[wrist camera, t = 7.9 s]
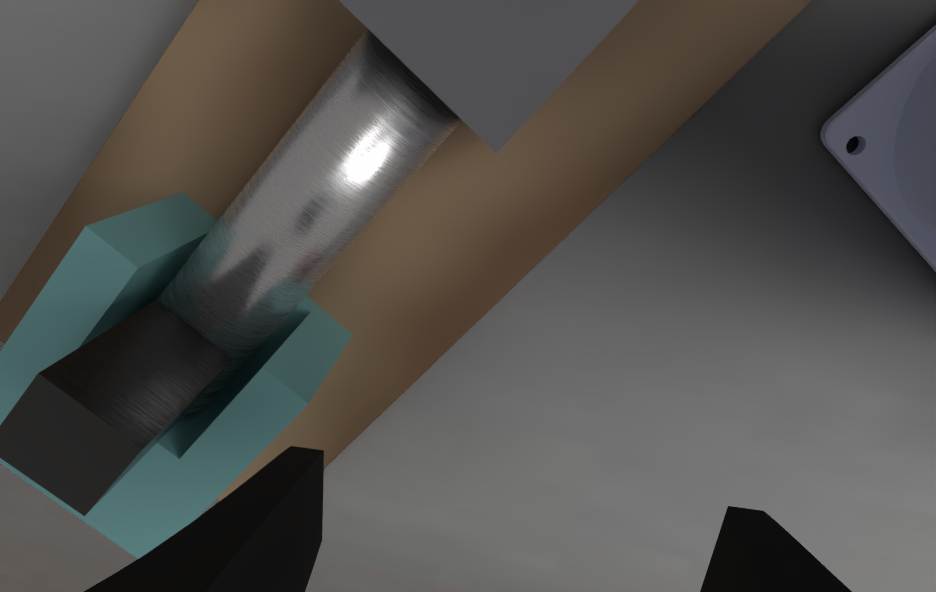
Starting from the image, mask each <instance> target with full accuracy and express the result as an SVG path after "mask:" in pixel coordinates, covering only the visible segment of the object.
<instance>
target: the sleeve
mask: <svg viewBox="0 0 936 592" xmlns="http://www.w3.org/2000/svg"><path fill="white" fill-rule="evenodd" d="M339 1H340V2H341V3H342V4H343V5H344V6H345V7H346V8H347V9H348V10H349V11H350V12H351V13H352V14H353V15H354V16H355V17H356V18H357V19H359V20H360V21H361V22H362V23H363V24H364V25H365V26H366V27H367V28H368V29H369V30H370V31H371V32H372V33H373V34H374V35H375V36H376V37H377V38H378V39H379V40H380V41H381V42H382V43H383V44H384V45H385V46H386V47H387V48H388V49H389V50H390V51H391V52H392V53H394V54H395V55H396V56H397V57H398V58H399V59H400V60H401V61H402V62H403V63H404V64H405V65H406V66H407V67H408V68H409V69H410V70H411V71H412V72H413V73H414V74H415V75H416V76H417V77H418V78H419V79H420V80H421V81H422V82H423V83H424V84H425V85H426V86H427V87H429V88H430V89H431V90H432V91H433V92H434V93H435V94H436V95H437V96H438V97H439V98H440V99H441V100H442V101H443V102H444V103H445V104H446V105H447V106H448V107H449V108H450V109H451V110H452V111H453V112H454V113H455V114H456V115H457V116H458V117H459V118H460V119H461V120H462V121H463V122H465V123H466V124H467V125H468V126H469V127H470V128H471V129H472V130H473V131H474V132H475V133H476V134H477V135H478V136H479V137H480V138H481V139H482V140H483V141H484V142H485V143H486V144H487V145H488V146H489V147H490V148H491V149H492V150H493V151H494V152H495V153H497V152H498V151H499V150H500V149H501V148H502V147H503V146H504V145H505V144H506V143H507V142H508V141H509V139H510V138H511V137H512V136H513V135H514V134H515V133H516V132H517V131H518V130H519V129H520V128H521V127H522V126H523V124H524V123H525V122H526V121H527V120H528V119H529V118H530V117H531V116H532V115H533V114H534V113H535V112H536V111H537V109H538V108H539V107H540V106H541V105H542V104H543V103H544V102H545V101H546V100H547V99H548V98H549V97H550V96H551V94H552V93H553V92H554V91H555V90H556V89H557V88H558V87H559V86H560V85H561V84H562V83H563V82H564V81H565V79H566V78H567V77H568V76H569V75H570V74H571V73H572V72H573V71H574V70H575V69H576V68H577V67H578V66H579V64H580V63H581V62H582V61H583V60H584V59H585V58H586V57H587V56H588V55H589V54H590V53H591V52H592V51H593V49H594V48H595V47H596V46H597V45H598V44H599V43H600V42H601V41H602V40H603V39H604V38H605V37H606V36H607V34H608V33H609V32H610V31H611V30H612V29H613V28H614V27H615V26H616V25H617V24H618V23H619V22H620V21H621V19H622V18H623V17H624V16H625V15H626V14H627V13H628V12H629V11H630V10H631V9H632V8H633V7H634V6H635V4H636V3H637V2H638V1H639V0H339Z"/></svg>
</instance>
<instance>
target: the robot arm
mask: <svg viewBox="0 0 936 592" xmlns="http://www.w3.org/2000/svg"><path fill="white" fill-rule="evenodd" d="M820 135H821V141H822V143H823V145H824V146H825V147H826V148H827V149H828V150H829V152H830V153H831V154H832V155H833V156H834V157H835V158H836V160H837V161H838V162H839V163H840V164H841V165H842V166H843V167H844V169H845V170H846V171H847V172H848V173H849V174H850V175H851V177H852V178H853V179H854V180H855V181H856V182H857V183H858V185H859V186H860V187H861V188H862V189H863V190H864V191H865V192H866V194H867V195H868V196H869V197H870V198H871V199H872V200H873V202H874V203H875V204H876V205H877V206H878V207H879V208H880V209H881V211H882V212H883V213H884V214H885V215H886V216H887V217H888V219H889V220H890V221H891V222H892V223H893V224H894V225H895V227H896V228H897V229H898V230H899V231H900V232H901V233H902V234H903V236H904V237H905V238H906V239H907V240H908V241H909V242H910V244H911V245H912V246H913V247H914V248H915V249H916V250H917V251H918V253H919V254H920V255H921V256H922V257H923V258H924V259H925V261H926V262H927V263H928V264H929V265H930V266H931V267H932V269H933V270H934V271H935V272H936V25H935V26H933V27H932V28H931V29H930V30H929V31H928V32H927V33H925V34H924V35H923V36H922V37H921V38H920V39H919V40H918V41H916V42H915V43H914V44H913V45H912V46H911V47H910V48H908V49H907V50H906V51H905V52H904V53H903V54H902V55H900V56H899V57H898V58H897V59H896V60H895V61H894V62H893V63H891V64H890V65H889V66H888V67H887V68H886V69H885V70H883V71H882V72H881V73H880V74H879V75H878V76H877V77H875V78H874V79H873V80H872V81H871V82H870V83H869V84H868V85H866V86H865V87H864V88H863V89H862V90H861V91H860V92H858V93H857V94H856V95H855V96H854V97H853V98H852V99H850V100H849V101H848V102H847V103H846V104H845V105H844V106H842V107H841V108H840V109H839V110H838V111H837V112H836V113H835V114H833V115H832V116H831V117H830V118H829V119H828V120H827V121H826V122H825V123H824V125H823V127H822V129H821V132H820ZM854 136H856V137H857V138H858V141H859V142H858V147H857V148H856V149H855V150H854V151H853V152H851V153H848V152H847V150H846V145H847V142H848V141H849V140H850V139H851V138H853V137H854ZM323 472H324V450H318V449H310V448H303V447H296V446H290V447H289V448H287V449H286V450H284V451H283V452H282V453H281V454H279V455H278V456H277V457H275V458H274V459H273V460H272V461H270V462H269V463H268V464H267V465H265V466H264V467H263V468H262V469H260V470H259V471H258V472H257V473H255V474H254V475H253V476H252V477H250V478H249V479H248V480H247V481H245V482H244V483H243V484H242V485H240V486H239V487H238V488H236V489H235V490H234V491H233V492H231V493H230V494H229V495H227V496H226V497H225V498H223V499H222V500H221V501H219V502H218V503H217V504H215V505H214V506H213V507H212V508H210V509H209V510H208V511H206V512H205V513H204V514H202V515H201V516H200V517H198V518H197V519H196V520H194V521H193V522H191V523H190V524H189V525H187V526H186V527H184V528H183V529H181V530H180V531H178V532H177V533H176V534H174V535H173V536H171V537H170V538H168V539H167V540H165V541H164V542H163V543H161V544H160V545H158V546H157V547H155V548H154V549H152V550H151V551H150V552H148V553H147V554H145V555H144V556H142V557H141V558H139V559H137V560H136V561H134V562H133V563H131V564H130V565H128V566H126V567H125V568H123V569H121V570H120V571H118V572H117V573H115V574H113V575H112V576H110V577H108V578H106V579H105V580H103V581H101V582H100V583H98V584H96V585H94V586H93V587H91V588H89V589H88V590H86V591H84V592H305V590H306V587H307V584H308V581H309V578H310V575H311V572H312V569H313V566H314V563H315V560H316V557H317V554H318V551H319V548H320V545H321V542H322V516H323ZM700 592H852V591H850V590H849V589H848V588H847V587H846V586H845V585H844V584H843V583H842V582H841V581H840V580H839V579H837V578H836V577H835V576H834V575H833V574H832V573H831V572H830V571H829V570H828V569H827V568H826V567H825V566H824V565H822V564H821V563H820V562H819V561H818V560H817V559H816V558H815V557H814V556H813V555H812V554H811V553H810V552H809V551H808V550H806V549H805V548H804V547H803V546H802V545H801V544H800V543H799V542H798V541H797V540H796V539H795V538H794V537H792V536H791V535H790V534H789V533H788V532H787V531H786V530H785V529H784V528H783V527H782V526H780V525H779V524H778V523H777V522H776V521H775V520H774V519H772V518H771V517H770V516H769V515H768V514H767V513H765V512H764V511H760V510H753V509H746V508H738V507H731V506H728V508H727V511H726V514H725V517H724V520H723V524H722V527H721V530H720V533H719V536H718V539H717V542H716V545H715V548H714V551H713V554H712V557H711V560H710V563H709V567H708V570H707V573H706V576H705V579H704V582H703V585H702V588H701V591H700Z"/></svg>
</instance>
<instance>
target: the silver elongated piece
mask: <svg viewBox="0 0 936 592" xmlns="http://www.w3.org/2000/svg"><path fill="white" fill-rule="evenodd" d="M461 121H462V120H461V119H460V118H459V117H458V116H457V115H456V114H455V113H454V112H453V111H452V110H451V109H450V108H449V107H448V106H447V105H446V104H445V103H444V102H443V101H442V100H441V99H440V98H439V97H438V96H437V95H436V94H435V93H434V92H433V91H432V90H431V89H430V88H429V87H427V86H426V85H425V84H424V83H423V82H422V81H421V80H420V79H419V78H418V77H417V76H416V75H415V74H414V73H413V72H412V71H411V70H410V69H409V68H408V67H407V66H406V65H405V64H404V63H403V62H402V61H401V60H400V59H399V58H398V57H397V56H396V55H395V54H394V53H392V52H391V51H390V50H389V49H388V48H387V47H386V46H385V45H384V44H383V43H382V42H381V41H380V40H379V39H378V38H377V37H376V36H375V35H374V34H373V33H372V32H371V31H370V30H369V29H368V28H367V29H366V31H365V32H364V33H363V34H362V36H361V37H360V38H359V40H358V41H357V42H356V43H355V45H354V46H353V47H352V49H351V50H350V51H349V52H348V54H347V55H346V56H345V58H344V59H343V60H342V62H341V63H340V64H339V65H338V67H337V68H336V69H335V71H334V72H333V73H332V74H331V76H330V77H329V78H328V80H327V81H326V82H325V83H324V85H323V86H322V87H321V89H320V90H319V91H318V92H317V94H316V95H315V96H314V98H313V99H312V100H311V101H310V103H309V104H308V105H307V107H306V108H305V109H304V110H303V112H302V113H301V114H300V116H299V117H298V118H297V120H296V121H295V122H294V123H293V125H292V126H291V127H290V129H289V130H288V131H287V132H286V134H285V135H284V136H283V138H282V139H281V140H280V141H279V143H278V144H277V145H276V147H275V148H274V149H273V150H272V152H271V153H270V154H269V156H268V157H267V158H266V159H265V161H264V162H263V163H262V165H261V166H260V167H259V168H258V170H257V171H256V172H255V174H254V175H253V176H252V178H251V179H250V180H249V181H248V183H247V184H246V185H245V187H244V188H243V189H242V190H241V192H240V193H239V194H238V196H237V197H236V198H235V199H234V201H233V202H232V203H231V205H230V206H229V207H228V208H227V210H226V211H225V212H224V214H223V215H222V216H221V217H220V219H219V220H218V221H217V223H216V224H215V225H214V226H213V228H212V229H211V230H210V232H209V233H208V234H207V236H206V237H205V238H204V239H203V241H202V242H201V243H200V245H199V246H198V247H197V248H196V250H195V251H194V252H193V254H192V255H191V256H190V257H189V259H188V260H187V261H186V263H185V264H184V265H183V266H182V268H181V269H180V270H179V272H178V273H177V274H176V275H175V277H174V278H173V279H172V281H171V282H170V283H169V285H168V286H167V287H166V288H165V290H164V291H163V292H162V294H161V295H160V296H159V297H158V299H157V300H155V301H154V302H152V303H150V304H149V305H147V306H146V307H144V308H142V309H141V310H139V311H138V312H136V313H134V314H133V315H131V316H130V317H128V318H126V319H125V320H123V321H121V322H120V323H118V324H117V325H115V326H113V327H112V328H110V329H109V330H107V331H105V332H104V333H102V334H100V335H99V336H97V337H96V338H94V339H92V340H91V341H89V342H88V343H86V344H84V345H83V346H81V347H79V348H78V349H76V350H75V351H73V352H71V353H70V354H68V355H67V356H65V357H63V358H62V359H60V360H59V361H57V362H55V363H54V364H52V365H50V366H49V367H47V368H46V369H44V370H42V371H41V372H39V373H38V374H37V375H36V377H35V378H34V380H33V381H32V382H31V384H30V385H29V386H28V388H27V389H26V391H25V392H24V393H23V395H22V396H21V397H20V399H19V400H18V402H17V403H16V404H15V406H14V407H13V408H12V410H11V411H10V413H9V414H8V415H7V417H6V418H5V420H4V421H3V422H2V424H1V425H0V458H1V459H2V460H4V461H5V462H7V463H8V464H9V465H11V466H12V467H14V468H15V469H17V470H18V471H20V472H21V473H22V474H24V475H25V476H27V477H28V478H30V479H31V480H33V481H34V482H35V483H37V484H38V485H40V486H41V487H43V488H44V489H46V490H47V491H48V492H50V493H51V494H53V495H54V496H56V497H57V498H59V499H60V500H61V501H63V502H64V503H66V504H67V505H69V506H70V507H72V508H73V509H74V510H76V511H77V512H79V513H80V514H82V515H83V516H85V515H86V514H87V513H88V512H89V511H90V510H91V509H92V508H93V507H94V506H95V505H96V504H97V503H98V502H99V501H100V500H101V499H102V498H103V497H104V496H105V495H106V494H107V493H108V492H109V491H110V490H111V489H112V488H113V487H114V486H115V485H116V484H117V483H118V482H119V481H120V480H121V479H122V478H123V477H124V476H125V475H126V474H127V473H128V472H129V471H130V470H131V469H132V468H133V467H134V466H135V465H136V464H137V463H138V462H139V461H140V459H141V458H142V457H143V456H144V455H145V454H146V453H147V452H148V451H149V450H150V449H151V448H152V447H153V446H154V445H155V444H156V443H157V442H158V441H159V440H160V439H161V438H162V437H163V436H164V435H165V434H166V433H167V432H168V431H169V430H170V429H171V428H172V427H173V426H174V425H175V424H176V423H177V422H178V421H182V420H188V419H192V418H194V417H197V416H198V415H200V414H201V413H202V412H203V411H204V410H205V409H206V408H207V407H208V406H209V405H210V404H211V403H212V401H213V400H214V399H215V398H216V397H217V396H218V395H219V394H220V392H221V391H222V390H223V389H224V388H225V387H226V386H227V385H228V383H229V382H230V381H231V380H232V379H233V378H234V377H235V376H236V374H237V373H238V372H239V371H240V370H241V369H242V368H243V367H244V366H245V364H246V363H247V362H248V361H249V360H250V359H251V358H252V357H253V355H254V354H255V353H256V352H257V351H258V350H259V349H260V348H261V346H262V345H263V344H264V343H265V342H266V341H267V340H268V339H269V337H270V336H271V335H272V334H273V333H274V332H275V331H276V330H277V328H278V327H279V326H280V325H281V324H282V323H283V322H284V321H285V319H286V318H287V317H288V316H289V315H290V314H291V313H292V312H293V310H294V309H295V308H296V307H297V306H298V305H299V304H300V303H301V301H302V300H303V299H304V298H305V297H306V296H307V295H308V294H309V292H310V291H311V290H312V289H313V288H314V287H315V286H316V285H317V283H318V282H319V281H320V280H321V279H322V278H323V277H324V276H325V274H326V273H327V272H328V271H329V270H330V269H331V268H332V267H333V265H334V264H335V263H336V262H337V261H338V260H339V259H340V258H341V256H342V255H343V254H344V253H345V252H346V251H347V250H348V249H349V247H350V246H351V245H352V244H353V243H354V242H355V241H356V240H357V238H358V237H359V236H360V235H361V234H362V233H363V232H364V231H365V229H366V228H367V227H368V226H369V225H370V224H371V223H372V222H373V220H374V219H375V218H376V217H377V216H378V215H379V214H380V213H381V211H382V210H383V209H384V208H385V207H386V206H387V205H388V204H389V202H390V201H391V200H392V199H393V198H394V197H395V196H396V195H397V193H398V192H399V191H400V190H401V189H402V188H403V187H404V186H405V184H406V183H407V182H408V181H409V180H410V179H411V178H412V177H413V175H414V174H415V173H416V172H417V171H418V170H419V169H420V168H421V166H422V165H423V164H424V163H425V162H426V161H427V160H428V159H429V157H430V156H431V155H432V154H433V153H434V152H435V151H436V150H437V148H438V147H439V146H440V145H441V144H442V143H443V142H444V141H445V139H446V138H447V137H448V136H449V135H450V134H451V133H452V132H453V130H454V129H455V128H456V127H457V126H458V125H459V124H460V123H461Z"/></svg>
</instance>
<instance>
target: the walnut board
mask: <svg viewBox="0 0 936 592" xmlns="http://www.w3.org/2000/svg"><path fill="white" fill-rule="evenodd" d="M811 1H812V0H639V1H638V2H637V3H636V4H635V6H634V7H633V8H632V9H631V10H630V11H629V12H628V13H627V14H626V15H625V16H624V17H623V18H622V19H621V21H620V22H619V23H618V24H617V25H616V26H615V27H614V28H613V29H612V30H611V31H610V32H609V33H608V34H607V36H606V37H605V38H604V39H603V40H602V41H601V42H600V43H599V44H598V45H597V46H596V47H595V48H594V49H593V51H592V52H591V53H590V54H589V55H588V56H587V57H586V58H585V59H584V60H583V61H582V62H581V63H580V64H579V66H578V67H577V68H576V69H575V70H574V71H573V72H572V73H571V74H570V75H569V76H568V77H567V78H566V79H565V81H564V82H563V83H562V84H561V85H560V86H559V87H558V88H557V89H556V90H555V91H554V92H553V93H552V94H551V96H550V97H549V98H548V99H547V100H546V101H545V102H544V103H543V104H542V105H541V106H540V107H539V108H538V109H537V111H536V112H535V113H534V114H533V115H532V116H531V117H530V118H529V119H528V120H527V121H526V122H525V123H524V124H523V126H522V127H521V128H520V129H519V130H518V131H517V132H516V133H515V134H514V135H513V136H512V137H511V138H510V139H509V141H508V142H507V143H506V144H505V145H504V146H503V147H502V148H501V149H500V150H499V151H498V152H497V153H495V152H494V151H493V150H492V149H491V148H490V147H489V146H488V145H487V144H486V143H485V142H484V141H483V140H482V139H481V138H480V137H479V136H478V135H477V134H476V133H475V132H474V131H473V130H472V129H471V128H470V127H469V126H468V125H467V124H466V123H465V122H463V121H461V123H460V124H459V125H458V126H457V127H456V128H455V129H454V130H453V132H452V133H451V134H450V135H449V136H448V137H447V138H446V139H445V141H444V142H443V143H442V144H441V145H440V146H439V147H438V148H437V150H436V151H435V152H434V153H433V154H432V155H431V156H430V157H429V159H428V160H427V161H426V162H425V163H424V164H423V165H422V166H421V168H420V169H419V170H418V171H417V172H416V173H415V174H414V175H413V177H412V178H411V179H410V180H409V181H408V182H407V183H406V184H405V186H404V187H403V188H402V189H401V190H400V191H399V192H398V193H397V195H396V196H395V197H394V198H393V199H392V200H391V201H390V202H389V204H388V205H387V206H386V207H385V208H384V209H383V210H382V211H381V213H380V214H379V215H378V216H377V217H376V218H375V219H374V220H373V222H372V223H371V224H370V225H369V226H368V227H367V228H366V229H365V231H364V232H363V233H362V234H361V235H360V236H359V237H358V238H357V240H356V241H355V242H354V243H353V244H352V245H351V246H350V247H349V249H348V250H347V251H346V252H345V253H344V254H343V255H342V256H341V258H340V259H339V260H338V261H337V262H336V263H335V264H334V265H333V267H332V268H331V269H330V270H329V271H328V272H327V273H326V274H325V276H324V277H323V278H322V279H321V280H320V281H319V282H318V283H317V285H316V286H315V287H314V288H313V289H312V290H311V291H310V292H309V294H308V295H307V297H308V298H310V299H311V300H312V301H313V302H314V303H316V304H317V305H318V306H319V307H320V308H322V309H323V310H324V311H325V312H326V313H328V314H329V315H330V316H331V317H332V318H333V319H335V320H336V321H337V322H338V323H339V324H341V325H342V326H343V327H344V328H345V329H347V330H348V331H349V332H350V333H351V334H352V337H351V338H350V340H349V341H348V343H347V344H346V346H345V348H344V349H343V351H342V352H341V354H340V355H339V357H338V359H337V360H336V362H335V363H334V365H333V366H332V368H331V370H330V371H329V373H328V374H327V376H326V377H325V379H324V381H323V382H322V384H321V385H320V387H319V388H318V390H317V391H316V393H315V395H314V396H313V398H312V399H311V401H310V402H309V404H308V405H307V406H306V407H305V408H304V409H303V410H302V411H301V412H300V413H299V414H298V415H297V416H296V417H295V418H294V419H293V421H292V422H291V423H290V424H289V425H288V426H287V427H286V428H285V429H284V430H283V431H282V432H281V433H280V434H279V435H278V436H277V437H276V438H275V439H274V440H273V441H272V442H271V443H270V444H269V445H268V446H267V447H266V448H265V449H264V450H263V451H262V452H261V453H260V454H259V456H258V457H257V458H256V459H255V460H254V461H253V462H252V463H251V464H250V465H249V466H248V467H247V468H246V469H245V470H244V471H243V472H242V473H241V474H240V475H239V476H238V477H237V478H236V479H235V480H234V481H233V482H232V483H231V484H230V485H229V486H228V487H227V488H226V489H225V490H224V492H223V493H222V494H221V495H220V496H219V497H218V498H217V500H218V501H221V500H222V499H223V498H225V497H226V496H227V495H229V494H230V493H231V492H233V491H234V490H235V489H236V488H238V487H239V486H240V485H242V484H243V483H244V482H245V481H247V480H248V479H249V478H250V477H252V476H253V475H254V474H255V473H257V472H258V471H259V470H260V469H262V468H263V467H264V466H265V465H267V464H268V463H269V462H270V461H272V460H273V459H274V458H275V457H277V456H278V455H279V454H281V453H282V452H283V451H284V450H286V449H287V448H289V447H290V446H296V447H303V448H310V449H318V450H324V468H325V467H326V466H327V465H328V464H330V463H331V462H332V461H333V460H334V459H335V458H336V457H337V456H338V455H339V454H340V453H341V452H342V451H343V450H344V449H345V448H346V447H347V446H348V445H349V444H350V443H351V442H352V441H353V440H355V439H356V438H357V437H358V436H359V435H360V434H361V433H362V432H363V431H364V430H365V429H366V428H367V427H368V426H369V425H370V424H371V423H372V422H373V421H374V420H375V419H376V418H377V417H378V416H380V415H381V414H382V413H383V412H384V411H385V410H386V409H387V408H388V407H389V406H390V405H391V404H392V403H393V402H394V401H395V400H396V399H397V398H398V397H399V396H400V395H401V394H402V393H404V392H405V391H406V390H407V389H408V388H409V387H410V386H411V385H412V384H413V383H414V382H415V381H416V380H417V379H418V378H419V377H420V376H421V375H422V374H423V373H424V372H425V371H426V370H427V369H429V368H430V367H431V366H432V365H433V364H434V363H435V362H436V361H437V360H438V359H439V358H440V357H441V356H442V355H443V354H444V353H445V352H446V351H447V350H448V349H449V348H450V347H451V346H452V345H454V344H455V343H456V342H457V341H458V340H459V339H460V338H461V337H462V336H463V335H464V334H465V333H466V332H467V331H468V330H469V329H470V328H471V327H472V326H473V325H474V324H475V323H476V322H477V321H479V320H480V319H481V318H482V317H483V316H484V315H485V314H486V313H487V312H488V311H489V310H490V309H491V308H492V307H493V306H494V305H495V304H496V303H497V302H498V301H499V300H500V299H501V298H502V297H504V296H505V295H506V294H507V293H508V292H509V291H510V290H511V289H512V288H513V287H514V286H515V285H516V284H517V283H518V282H519V281H520V280H521V279H522V278H523V277H524V276H525V275H526V274H527V273H529V272H530V271H531V270H532V269H533V268H534V267H535V266H536V265H537V264H538V263H539V262H540V261H541V260H542V259H543V258H544V257H545V256H546V255H547V254H548V253H549V252H550V251H551V250H552V249H554V248H555V247H556V246H557V245H558V244H559V243H560V242H561V241H562V240H563V239H564V238H565V237H566V236H567V235H568V234H569V233H570V232H571V231H572V230H573V229H574V228H575V227H576V226H578V225H579V224H580V223H581V222H582V221H583V220H584V219H585V218H586V217H587V216H588V215H589V214H590V213H591V212H592V211H593V210H594V209H595V208H596V207H597V206H598V205H599V204H600V203H601V202H603V201H604V200H605V199H606V198H607V197H608V196H609V195H610V194H611V193H612V192H613V191H614V190H615V189H616V188H617V187H618V186H619V185H620V184H621V183H622V182H623V181H624V180H625V179H626V178H628V177H629V176H630V175H631V174H632V173H633V172H634V171H635V170H636V169H637V168H638V167H639V166H640V165H641V164H642V163H643V162H644V161H645V160H646V159H647V158H648V157H649V156H650V155H651V154H653V153H654V152H655V151H656V150H657V149H658V148H659V147H660V146H661V145H662V144H663V143H664V142H665V141H666V140H667V139H668V138H669V137H670V136H671V135H672V134H673V133H674V132H675V131H676V130H678V129H679V128H680V127H681V126H682V125H683V124H684V123H685V122H686V121H687V120H688V119H689V118H690V117H691V116H692V115H693V114H694V113H695V112H696V111H697V110H698V109H699V108H700V107H701V106H703V105H704V104H705V103H706V102H707V101H708V100H709V99H710V98H711V97H712V96H713V95H714V94H715V93H716V92H717V91H718V90H719V89H720V88H721V87H722V86H723V85H724V84H725V83H727V82H728V81H729V80H730V79H731V78H732V77H733V76H734V75H735V74H736V73H737V72H738V71H739V70H740V69H741V68H742V67H743V66H744V65H745V64H746V63H747V62H748V61H749V60H750V59H752V58H753V57H754V56H755V55H756V54H757V53H758V52H759V51H760V50H761V49H762V48H763V47H764V46H765V45H766V44H767V43H768V42H769V41H770V40H771V39H772V38H773V37H774V36H775V35H777V34H778V33H779V32H780V31H781V30H782V29H783V28H784V27H785V26H786V25H787V24H788V23H789V22H790V21H791V20H792V19H793V18H794V17H795V16H796V15H797V14H798V13H799V12H800V11H802V10H803V9H804V8H805V7H806V6H807V5H808V4H809V3H810V2H811ZM366 29H367V27H366V26H365V25H364V24H363V23H362V22H361V21H360V20H359V19H357V18H356V17H355V16H354V15H353V14H352V13H351V12H350V11H349V10H348V9H347V8H346V7H345V6H344V5H343V4H342V3H341V2H340V1H339V0H199V1H198V2H197V4H196V5H195V7H194V8H193V10H192V11H191V13H190V14H189V16H188V17H187V19H186V20H185V22H184V23H183V25H182V26H181V28H180V30H179V31H178V33H177V34H176V36H175V37H174V39H173V40H172V42H171V43H170V45H169V46H168V48H167V49H166V51H165V52H164V54H163V55H162V57H161V58H160V60H159V62H158V63H157V65H156V66H155V68H154V69H153V71H152V72H151V74H150V75H149V77H148V78H147V80H146V81H145V83H144V84H143V86H142V87H141V89H140V90H139V92H138V94H137V95H136V97H135V98H134V100H133V101H132V103H131V104H130V106H129V107H128V109H127V110H126V112H125V113H124V115H123V116H122V118H121V119H120V121H119V122H118V124H117V126H116V127H115V129H114V130H113V132H112V133H111V135H110V136H109V138H108V139H107V141H106V142H105V144H104V145H103V147H102V148H101V150H100V151H99V153H98V155H97V156H96V158H95V159H94V161H93V162H92V164H91V165H90V167H89V168H88V170H87V171H86V173H85V174H84V176H83V177H82V179H81V180H80V182H79V183H78V185H77V187H76V188H75V190H74V191H73V193H72V194H71V196H70V197H69V199H68V200H67V202H66V203H65V205H64V206H63V208H62V209H61V211H60V212H59V214H58V215H57V217H56V219H55V220H54V222H53V223H52V225H51V226H50V228H49V229H48V231H47V232H46V234H45V235H44V237H43V238H42V240H41V241H40V243H39V244H38V246H37V247H36V249H35V251H34V252H33V254H32V255H31V257H30V258H29V260H28V261H27V263H26V264H25V266H24V267H23V269H22V270H21V272H20V273H19V275H18V276H17V278H16V279H15V281H14V283H13V284H12V286H11V287H10V289H9V290H8V292H7V293H6V295H5V296H4V298H3V299H2V301H1V302H0V340H1V341H2V342H3V343H6V342H7V341H8V339H9V338H10V336H11V335H12V333H13V332H14V330H15V329H16V327H17V326H18V324H19V323H20V321H21V320H22V319H23V317H24V316H25V314H26V313H27V311H28V310H29V308H30V307H31V305H32V304H33V302H34V301H35V299H36V298H37V297H38V295H39V294H40V292H41V291H42V289H43V288H44V286H45V285H46V283H47V282H48V280H49V279H50V277H51V276H52V275H53V273H54V272H55V270H56V269H57V267H58V266H59V264H60V263H61V261H62V260H63V258H64V257H65V255H66V254H67V253H68V251H69V250H70V248H71V247H72V245H73V244H74V242H75V241H76V239H77V238H78V236H79V235H80V233H81V232H82V231H83V229H84V228H85V226H87V225H90V224H93V223H96V222H98V221H101V220H104V219H107V218H110V217H113V216H116V215H119V214H121V213H124V212H127V211H130V210H133V209H136V208H139V207H142V206H145V205H147V204H150V203H153V202H156V201H159V200H162V199H165V198H168V197H170V196H173V195H176V194H179V193H182V192H184V193H185V194H186V195H187V196H188V197H190V198H191V199H192V200H193V201H194V202H196V203H197V204H198V205H199V206H200V207H202V208H203V209H204V210H205V211H206V212H208V213H209V214H210V215H211V216H212V217H213V218H215V219H216V220H217V221H218V220H219V219H220V217H221V216H222V215H223V214H224V212H225V211H226V210H227V208H228V207H229V206H230V205H231V203H232V202H233V201H234V199H235V198H236V197H237V196H238V194H239V193H240V192H241V190H242V189H243V188H244V187H245V185H246V184H247V183H248V181H249V180H250V179H251V178H252V176H253V175H254V174H255V172H256V171H257V170H258V168H259V167H260V166H261V165H262V163H263V162H264V161H265V159H266V158H267V157H268V156H269V154H270V153H271V152H272V150H273V149H274V148H275V147H276V145H277V144H278V143H279V141H280V140H281V139H282V138H283V136H284V135H285V134H286V132H287V131H288V130H289V129H290V127H291V126H292V125H293V123H294V122H295V121H296V120H297V118H298V117H299V116H300V114H301V113H302V112H303V110H304V109H305V108H306V107H307V105H308V104H309V103H310V101H311V100H312V99H313V98H314V96H315V95H316V94H317V92H318V91H319V90H320V89H321V87H322V86H323V85H324V83H325V82H326V81H327V80H328V78H329V77H330V76H331V74H332V73H333V72H334V71H335V69H336V68H337V67H338V65H339V64H340V63H341V62H342V60H343V59H344V58H345V56H346V55H347V54H348V52H349V51H350V50H351V49H352V47H353V46H354V45H355V43H356V42H357V41H358V40H359V38H360V37H361V36H362V34H363V33H364V32H365V31H366Z"/></svg>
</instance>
